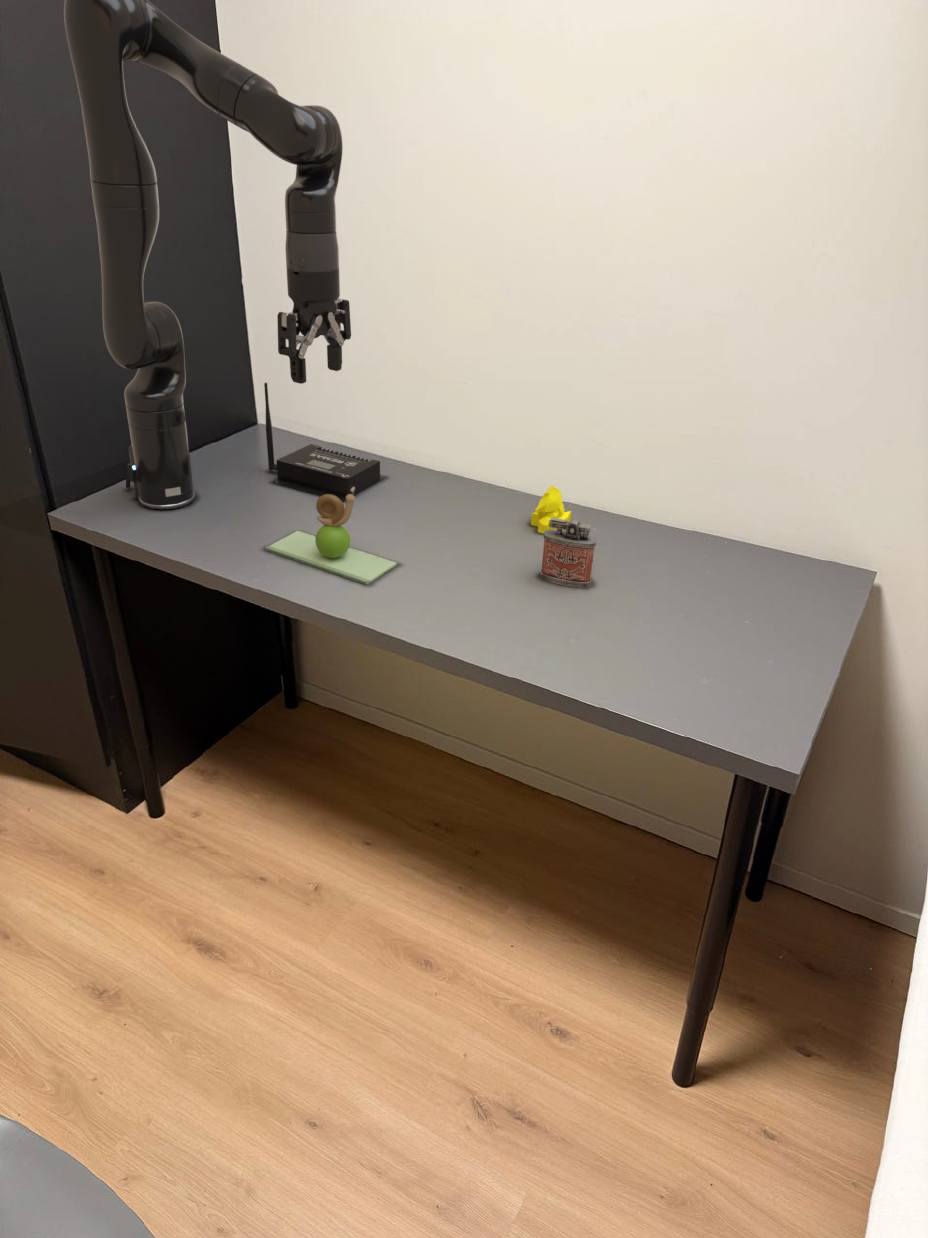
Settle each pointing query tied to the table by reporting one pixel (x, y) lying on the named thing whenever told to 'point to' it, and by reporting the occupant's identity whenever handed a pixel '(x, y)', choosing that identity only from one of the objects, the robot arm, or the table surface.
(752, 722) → the table surface
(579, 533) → the lighter
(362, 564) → the front mat
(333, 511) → the snail figurine
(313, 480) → the wireless controller
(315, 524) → the table surface
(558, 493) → the crumpled paper
